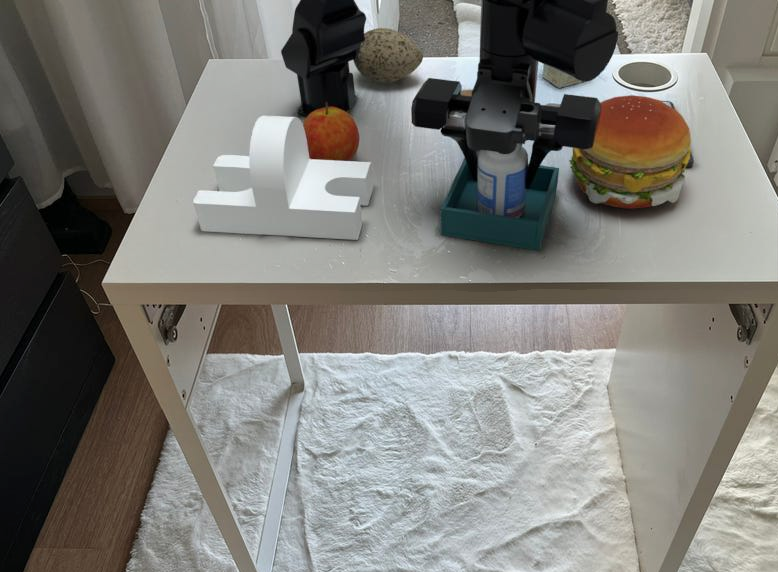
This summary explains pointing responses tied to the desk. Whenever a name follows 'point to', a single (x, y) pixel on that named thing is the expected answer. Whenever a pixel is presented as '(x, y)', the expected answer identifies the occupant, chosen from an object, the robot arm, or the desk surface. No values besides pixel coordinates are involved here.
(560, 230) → the desk surface
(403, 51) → the decorative egg
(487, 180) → the pill bottle
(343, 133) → the fruit
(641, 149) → the burger
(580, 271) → the desk surface
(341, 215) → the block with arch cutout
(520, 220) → the bin
